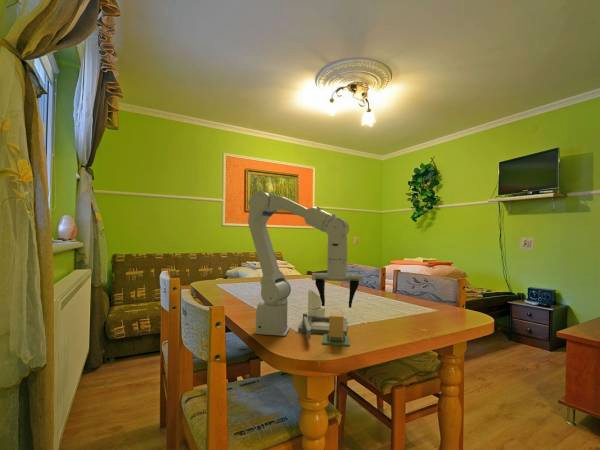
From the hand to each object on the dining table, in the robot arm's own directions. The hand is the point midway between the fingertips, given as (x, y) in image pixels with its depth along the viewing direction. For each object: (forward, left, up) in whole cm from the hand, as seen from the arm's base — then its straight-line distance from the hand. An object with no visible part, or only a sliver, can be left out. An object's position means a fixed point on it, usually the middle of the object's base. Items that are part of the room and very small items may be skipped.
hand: (336, 306), depth 84 cm
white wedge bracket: (-8, +23, -10) cm, 26 cm away
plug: (0, 0, -10) cm, 10 cm away
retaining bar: (-9, +3, -8) cm, 13 cm away
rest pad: (0, 0, -10) cm, 10 cm away
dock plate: (-4, +12, -10) cm, 16 cm away
